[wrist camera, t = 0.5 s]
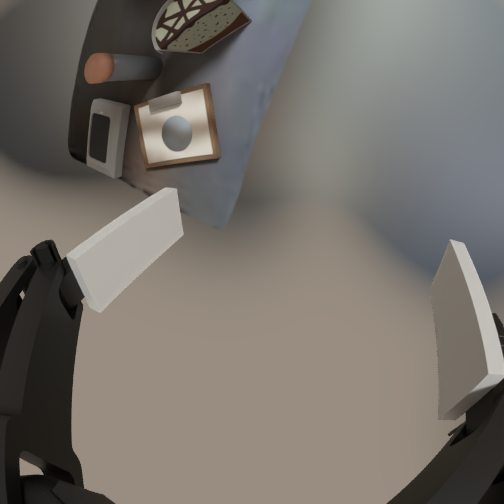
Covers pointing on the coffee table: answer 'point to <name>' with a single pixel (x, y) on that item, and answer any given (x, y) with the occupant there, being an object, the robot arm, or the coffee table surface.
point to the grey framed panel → (107, 136)
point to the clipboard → (178, 127)
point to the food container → (195, 24)
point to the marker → (121, 67)
